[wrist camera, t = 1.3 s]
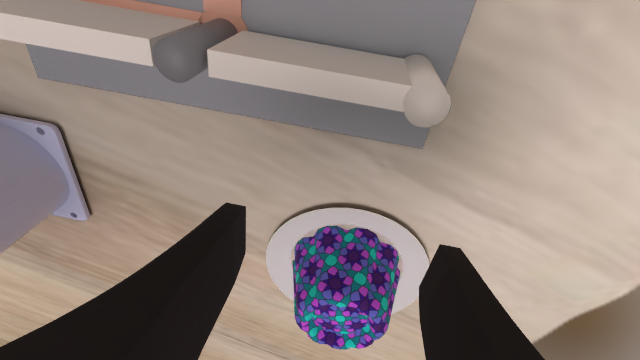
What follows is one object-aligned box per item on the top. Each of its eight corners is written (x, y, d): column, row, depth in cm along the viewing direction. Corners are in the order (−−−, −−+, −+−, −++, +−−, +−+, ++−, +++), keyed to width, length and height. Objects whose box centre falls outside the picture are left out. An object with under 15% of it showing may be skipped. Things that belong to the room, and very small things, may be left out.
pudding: (248, 206, 23) (219, 264, 18) (427, 193, 20) (441, 257, 16) (289, 311, 29) (274, 372, 25) (429, 312, 26) (440, 380, 22)
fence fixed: (32, 18, 17) (-74, 36, 13) (20, -18, 16) (-99, -11, 12) (239, 55, 16) (197, 86, 12) (239, 21, 15) (193, 41, 11)
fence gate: (243, 59, 16) (204, 87, 12) (243, 23, 15) (201, 43, 11) (425, 91, 16) (441, 131, 12) (437, 57, 15) (458, 88, 11)
